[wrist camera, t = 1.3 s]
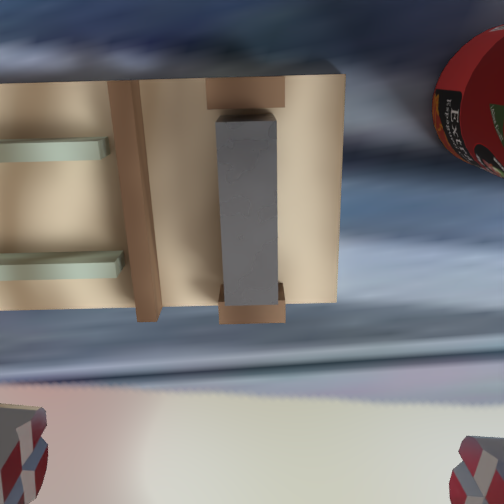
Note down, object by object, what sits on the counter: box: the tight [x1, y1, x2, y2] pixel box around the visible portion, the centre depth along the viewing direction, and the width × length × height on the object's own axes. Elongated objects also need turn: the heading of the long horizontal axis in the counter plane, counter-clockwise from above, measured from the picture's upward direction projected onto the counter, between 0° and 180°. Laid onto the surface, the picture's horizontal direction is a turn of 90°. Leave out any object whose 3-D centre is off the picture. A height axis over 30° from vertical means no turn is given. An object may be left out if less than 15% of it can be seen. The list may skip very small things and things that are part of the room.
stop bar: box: [215, 114, 278, 306], centre depth 27 cm, size 10×3×4 cm, turn 1°
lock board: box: [0, 74, 346, 324], centre depth 28 cm, size 24×14×4 cm, turn 92°
